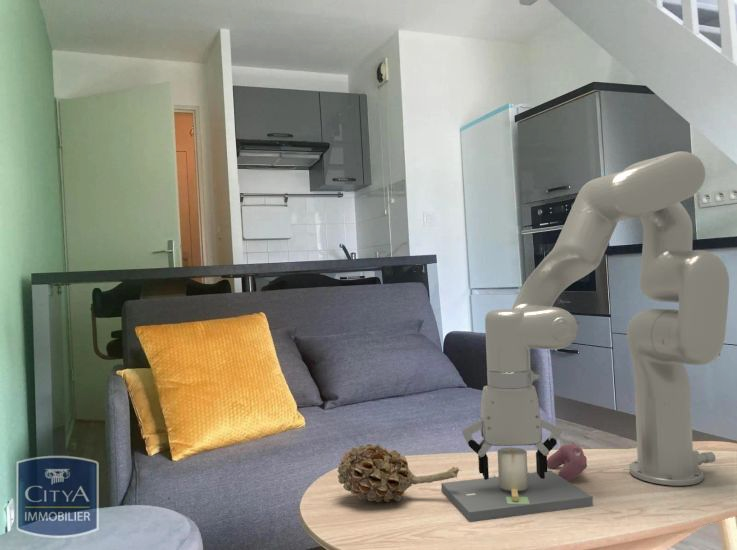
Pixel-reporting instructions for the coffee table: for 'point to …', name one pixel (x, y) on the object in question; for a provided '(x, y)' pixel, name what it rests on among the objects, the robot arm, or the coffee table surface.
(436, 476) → the pine cone
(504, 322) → the robot arm
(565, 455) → the video game controller
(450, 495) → the dial board
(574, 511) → the coffee table surface
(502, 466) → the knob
